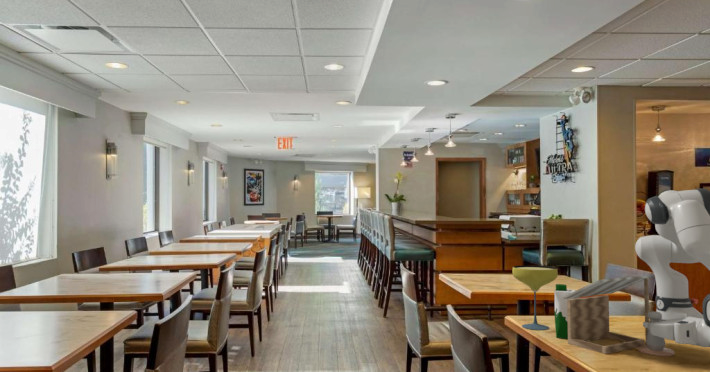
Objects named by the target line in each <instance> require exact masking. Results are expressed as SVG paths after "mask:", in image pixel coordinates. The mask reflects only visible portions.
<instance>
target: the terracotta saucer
mask: <svg viewBox="0 0 710 372" xmlns="http://www.w3.org/2000/svg"><path fill="white" fill-rule="evenodd" d="M637 351H638V352H640V353H641V354H646V355H650V356H656V357H673V356H675V351H674V350H673V349H671V348H668V347H666V346H664V349H663V350H662V351H653V350H650V349H649V347H648V346H647V345H646V344H645V345H644V346H638V347H637Z"/></svg>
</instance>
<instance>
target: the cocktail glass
mask: <svg viewBox="0 0 710 372" xmlns="http://www.w3.org/2000/svg"><path fill="white" fill-rule="evenodd" d="M558 273H559V272H558V268H557V267H553V266H547V265H529V264H527V265H526V264H524V265H523V264H522V265H514V266H512V276H513V277H514V278H515V279H516V280H517V281H518V282H521V283H522V284H525V285H526V286H528V287H529V288H530V290H531V291H532V292H533V293H534V294H533V298H534V301H533V302H534V307H533V308H534V309H533V310H534V314H533V315H534V316H533V322H532V323H525V324H522V325H521V327H522V328H524V329H527V330H530V331H531V330H532V331H547V330H549V329H550V327H549V326H547V325H544V324H541V323H538V320H537V318H538V317H537V297H536V295H537V292H538V291H539V290H540V289H541V288H542V287H543V286H546V285H548V284H550V283H552V282H554V281H555V280H556V279H557V278H558V275H559V274H558Z"/></svg>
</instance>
